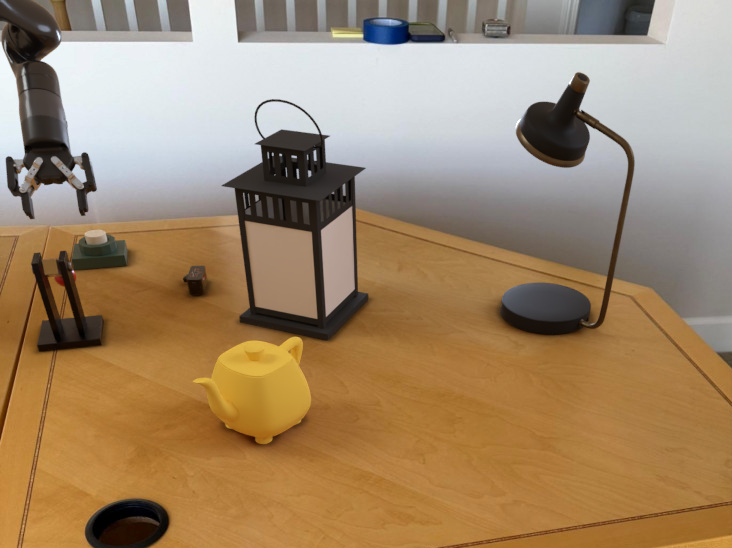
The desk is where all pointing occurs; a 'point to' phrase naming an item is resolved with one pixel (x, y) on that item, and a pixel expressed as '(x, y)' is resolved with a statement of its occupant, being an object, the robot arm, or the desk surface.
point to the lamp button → (95, 237)
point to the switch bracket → (68, 329)
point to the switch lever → (54, 270)
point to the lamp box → (99, 254)
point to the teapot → (259, 388)
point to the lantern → (298, 236)
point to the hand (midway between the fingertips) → (57, 215)
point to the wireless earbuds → (196, 280)
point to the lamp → (562, 149)
